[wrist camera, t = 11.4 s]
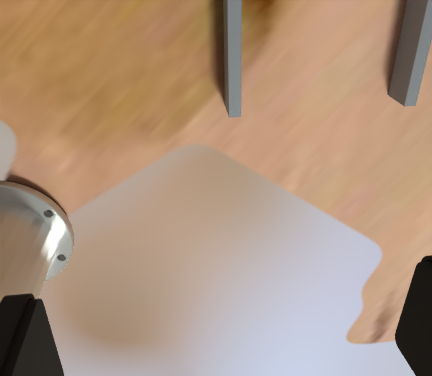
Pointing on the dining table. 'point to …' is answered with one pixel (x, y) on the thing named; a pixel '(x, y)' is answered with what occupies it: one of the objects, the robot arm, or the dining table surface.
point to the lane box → (403, 67)
